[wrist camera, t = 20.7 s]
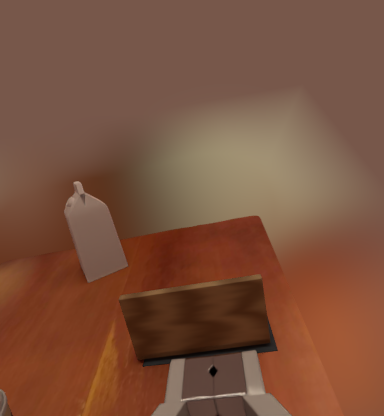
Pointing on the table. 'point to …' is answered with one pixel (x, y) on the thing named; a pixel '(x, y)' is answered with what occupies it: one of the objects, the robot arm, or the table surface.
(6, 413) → the coffee cup
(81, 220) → the milk
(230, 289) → the drawer
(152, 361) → the mat
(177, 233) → the table surface
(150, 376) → the table surface
